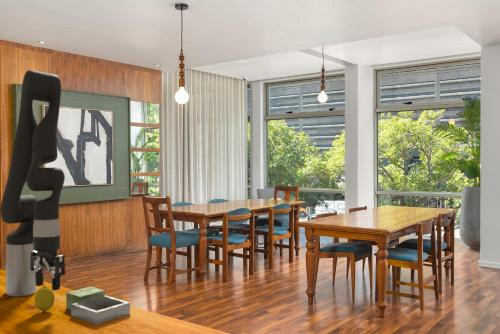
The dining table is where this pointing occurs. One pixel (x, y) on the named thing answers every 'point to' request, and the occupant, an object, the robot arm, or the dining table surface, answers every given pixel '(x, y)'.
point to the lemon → (44, 298)
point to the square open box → (95, 305)
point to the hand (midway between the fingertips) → (47, 287)
